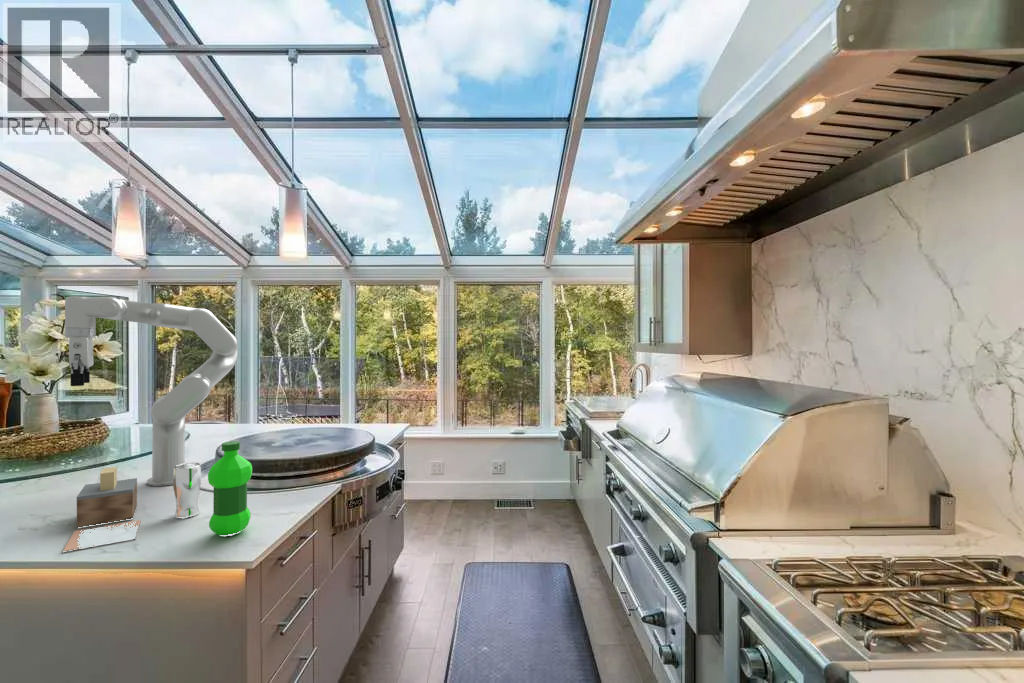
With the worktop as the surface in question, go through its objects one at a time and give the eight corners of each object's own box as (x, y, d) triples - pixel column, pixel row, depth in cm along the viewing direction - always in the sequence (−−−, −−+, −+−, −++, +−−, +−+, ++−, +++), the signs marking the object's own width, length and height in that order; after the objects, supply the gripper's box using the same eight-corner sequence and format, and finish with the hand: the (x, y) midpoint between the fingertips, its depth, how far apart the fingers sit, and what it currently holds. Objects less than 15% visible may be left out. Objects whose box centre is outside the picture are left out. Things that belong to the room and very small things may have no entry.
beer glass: (170, 521, 133) (170, 470, 133) (175, 512, 140) (175, 463, 139) (199, 517, 137) (199, 467, 136) (202, 509, 143) (202, 461, 142)
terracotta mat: (140, 521, 133) (140, 519, 133) (135, 539, 122) (135, 537, 122) (74, 532, 125) (74, 530, 125) (62, 553, 114) (62, 551, 114)
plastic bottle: (260, 527, 130) (261, 440, 130) (229, 543, 120) (230, 448, 120) (230, 523, 133) (231, 437, 132) (198, 539, 122) (198, 446, 122)
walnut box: (136, 506, 144) (136, 481, 144) (132, 519, 134) (132, 492, 134) (85, 514, 137) (85, 488, 137) (76, 529, 127) (76, 500, 127)
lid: (136, 485, 144) (137, 462, 144) (132, 496, 134) (132, 472, 134) (85, 492, 137) (85, 468, 137) (76, 504, 127) (76, 479, 127)
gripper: (90, 333, 149) (90, 386, 149) (99, 333, 163) (99, 381, 163) (58, 333, 144) (58, 387, 145) (70, 333, 159) (70, 382, 159)
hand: (80, 384), depth 154 cm, fingers open, 9 cm apart
